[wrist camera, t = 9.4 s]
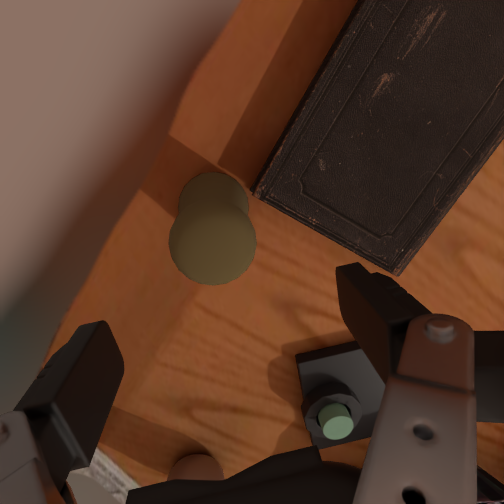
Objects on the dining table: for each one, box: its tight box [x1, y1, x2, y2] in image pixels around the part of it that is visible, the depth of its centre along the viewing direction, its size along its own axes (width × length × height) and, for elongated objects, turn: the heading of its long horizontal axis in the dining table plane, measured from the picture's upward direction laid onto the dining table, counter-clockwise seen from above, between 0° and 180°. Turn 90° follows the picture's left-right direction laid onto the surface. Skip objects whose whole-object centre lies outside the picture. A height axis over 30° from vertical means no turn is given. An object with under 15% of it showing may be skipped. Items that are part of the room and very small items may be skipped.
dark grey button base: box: [295, 341, 386, 450], centre depth 36 cm, size 15×13×3 cm
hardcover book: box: [250, 0, 504, 276], centre depth 26 cm, size 16×23×2 cm
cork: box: [169, 172, 257, 285], centre depth 23 cm, size 6×6×11 cm
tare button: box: [318, 403, 353, 440], centre depth 34 cm, size 3×3×2 cm
